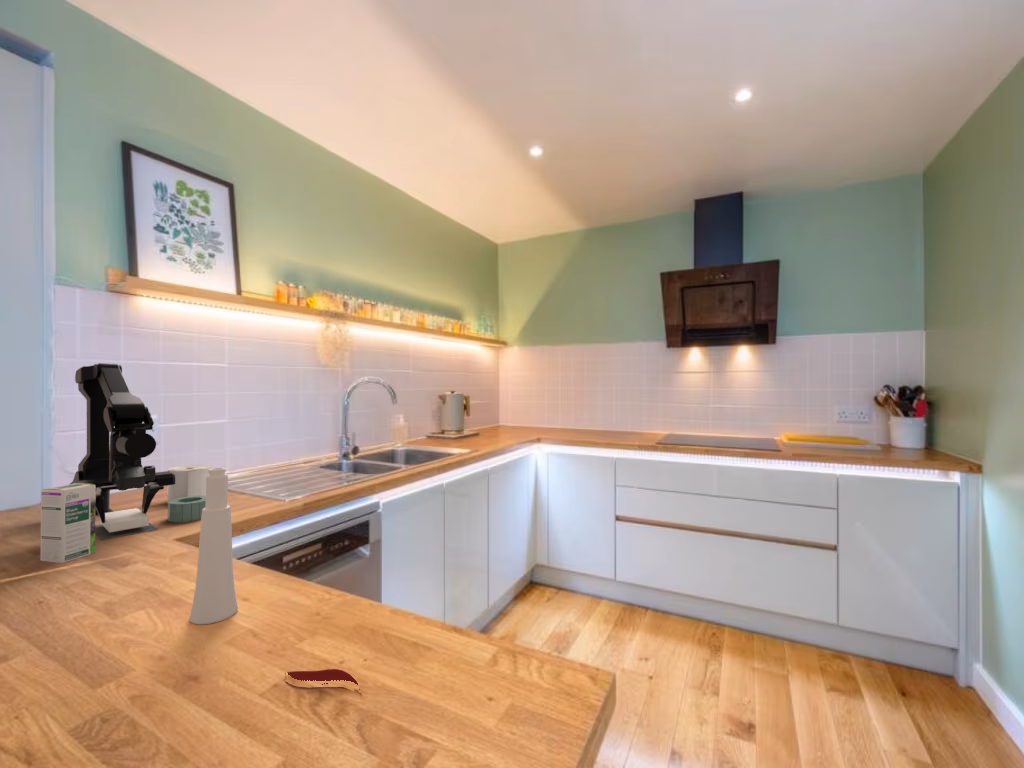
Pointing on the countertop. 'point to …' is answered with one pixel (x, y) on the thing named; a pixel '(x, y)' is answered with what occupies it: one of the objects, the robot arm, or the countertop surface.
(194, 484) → the toilet tissue
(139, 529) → the mat
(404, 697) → the countertop surface
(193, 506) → the bowl
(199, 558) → the cosmetic bottle
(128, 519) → the white rectangular block
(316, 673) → the cayenne pepper
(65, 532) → the syrup box
